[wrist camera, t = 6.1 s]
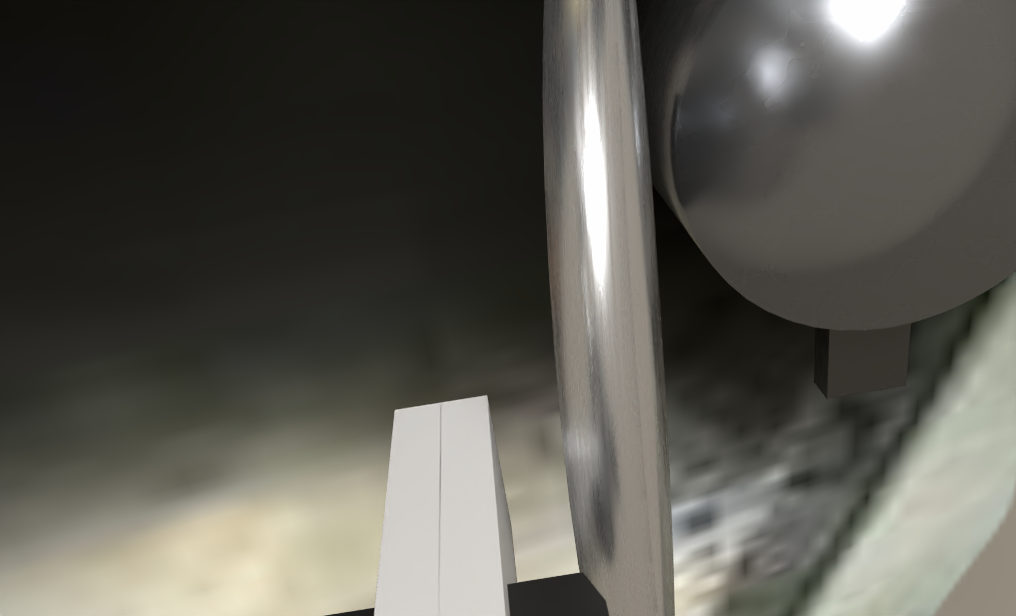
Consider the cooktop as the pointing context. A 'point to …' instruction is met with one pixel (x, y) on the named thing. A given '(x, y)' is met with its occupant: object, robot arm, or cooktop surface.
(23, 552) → the cooktop surface
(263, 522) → the cooktop surface
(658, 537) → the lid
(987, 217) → the pot
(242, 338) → the cooktop surface
